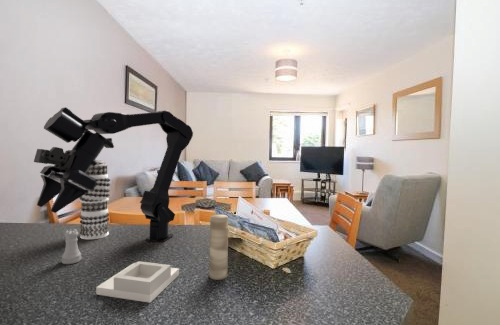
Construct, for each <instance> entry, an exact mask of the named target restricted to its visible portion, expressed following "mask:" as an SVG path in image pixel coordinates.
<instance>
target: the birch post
mask: <svg viewBox="0 0 500 325" xmlns="http://www.w3.org/2000/svg"><path fill="white" fill-rule="evenodd" d="M209 222H210V223H209V269H208V270H209V272H208V274H209V275H208V276H209V278H210V279H211V280H215V281H216V280H217V281H222V280H225V279H227V277H228V260H229V259H228V258H229V255H228V252H229V251H228V250H229V230H228V216H227V214H212V215H210V219H209Z"/></svg>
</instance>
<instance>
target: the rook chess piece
mask: <svg viewBox="0 0 500 325" xmlns="http://www.w3.org/2000/svg"><path fill="white" fill-rule="evenodd" d="M79 234H80V232H78V229H76V228H73V230H72V229H69V230H68V229H67V230H65V233H64V234H63V236H64V238H65V241H64V242H65V249H64V252H63V254H62V255H61V261H60V262H61V263H62V264H63V265H73V264H76V263H78V262H80V261H81V260H82V258H83V257H82V252H80V249H79V247H78V240H79V239H78V235H79Z"/></svg>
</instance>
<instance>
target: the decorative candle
mask: <svg viewBox="0 0 500 325" xmlns="http://www.w3.org/2000/svg"><path fill="white" fill-rule="evenodd" d="M94 162H96V165H95V166H91V167H90V168H89V170H88V171H87V173H86V174H88V175H89V176H91V177H93V178H95V179H96V182H97V185H96V187H95V188H94V190H93V191H90V190H87V189H86V190H87V191H88V193H86V194H84V195H83V196H81V197H79V198H78V199H79V202H80V203H81V210H80V215H79V219H80V221H79V223H80V226H79V229H80V231H79V234H80V236H79V238H81V239H82V240H97V239H103V238H105V237H108V236H109V234H110V233H109V232H110V227H109V226H110V223H109V222H108V221H110V218H109V216H110V213H109V208H108V201H109V200H110V198H109V197H110V194H109V192H110V191H111V190H110V188H109V189H108V187H110V186H111V183H109V182H110V181H111V179H110V178H109V173H108V164H107V163H106V162H105V160H99V159H95V161H94Z"/></svg>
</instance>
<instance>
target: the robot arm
mask: <svg viewBox="0 0 500 325" xmlns="http://www.w3.org/2000/svg"><path fill="white" fill-rule="evenodd" d="M157 124H158V125H159V127H160V128H161V130H162V131H163V132H164V133H165V134H166V146H167V147H166V149H165V150H166V151H165V153H164V156H163V159H162V162H161V165H160V167H159V170H158V172H157V176H156V178H155V181H154V184H153V186H152V188H151V189H150V190H144V191H143V195H142V198H141V200H140V201H139V204H140V210H141V212H142V214H144V217H145V219H146V220H150V221H149V235H148V237H146V238H145V241H149V242H150V241H152V242H160V243H164V242H166V241H167V240H170V238H172V237H174V235H173V234H171V233H170V230H169V229H170V225H169V224H170V223H171V222H173V221H174V219H175V217H176V213H174V211H173V210H172V209H170V208H169V206H170V196H169V190H170V187H171V184H172V182H173V179H174V175H175V172H176V169H177V166H178V164H179V160H180V157H181V155H182V152H183V151H184V150H185V149H186V148H187V147H188V146H189V144H190V142H191V140H192V138H193V136H194V131H193V130H192V127H191V126H190V125H189V124H187V123H186V122H185V121H183V120H182V119H180V118H178V117H176V116H175V115H174V114H172V113H171V112H170V111H169V110H157V111H155V112H153V111H152V112H145V113H144V112H143V113H131V114H128V113H123V112H112V111H111V112H110V111H109V112H108V111H107V112H100V113H95V114H93V115H92V117H91V118H90V119H82V118H80V116H77V115H76V114H75V113H73V112H72V110H71V109H69V108H68V107H62V108H60V110H58V111H57V112H56V113H55V114H53V116H52V117H49V118H48V120H46V122H45V124H44V125H43V130H45V131H47V132H48V133H50V134H52V135H54V136H55V137H57V138H59V139H61V140H62V141H63V142H65V143H71V142H74V143H75V145H74V146H73V147H72V148H71V149H70V150H69V149H68V150H65V151H64V149H63V148H62V147H57V146H53V147H51V149H43V148H37V149H36V152H35V155H34V159H33V162H34V163H37V164H38V163H39V164H44V165H46V166H44V167H43V168H42V169H41V170H40V172H39V173H40V177H41V179H42V181H43V186H42V188H41V189H42V190H40V194H39V197H38V200H37V203H36V205H37V207H40V208H42V207H43V206H45V205H46V204H48V203H49V202H51V200H53V199H54V198H56V199H55V200H54V202H53V205H52V206H51V208H50V212H52V213H54V214H56V213H58V212H59V211H60V210H62V209H64V208H65V207H67V206H68V205H70V204H71V203H73V202H74V201H76V200H78V199H80V198H79V197H81V196H83V195H84V194H86V193H88V191H87V190H90V191H93V190H94V188H95V187H96V185H97V182H96V179H95V178H93V177H91V176H89V175H88V174H86V173H87V171H88V170H89V168H90V167H91V166H95V165H96V162H94V161H95V160H97V158H98V156H99V155H100V154H101V152H102V151H103V149H104V147H105V149H114V148H115V145H114V142H113V138H112V137H105V136H103V135H112V134H117V133H120V132H123V131H125V130H127V129H131V128H133V127H134V128H135V127H141V126H142V127H143V126H150V125H157ZM92 131H93V132H92ZM86 189H87V190H86Z"/></svg>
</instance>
